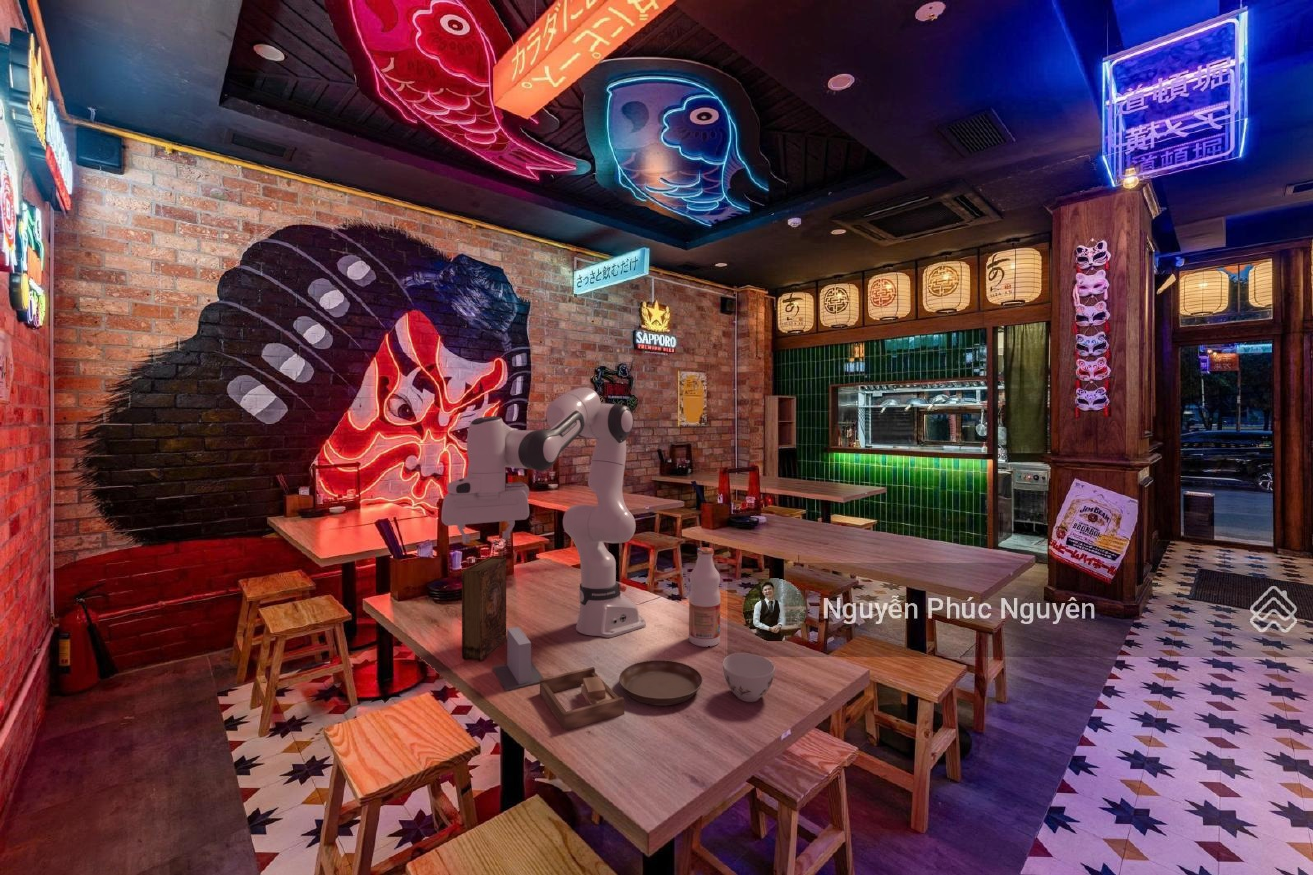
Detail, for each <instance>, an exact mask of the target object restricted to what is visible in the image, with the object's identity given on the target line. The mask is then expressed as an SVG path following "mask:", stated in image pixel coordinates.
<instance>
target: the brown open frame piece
mask: <svg viewBox="0 0 1313 875" xmlns="http://www.w3.org/2000/svg"><path fill="white" fill-rule="evenodd" d="M597 676H599V675H598V674H597V673H596V668H595V667H594V666H592V667H588V668H582V669H579V670H575V671H570V672H565V673H561V674H557V675H553V676H547V677H543V678H544V679H540V683H539V695H540V696H541V697H542V699H543V701H544V702H545V703H546V705H547V706H548V708H549V709H550V710H551V713H552V714H553V715H554V717H555V718H556V720H557V721H558V723H559V724H560V726H561V727H562V728H563V730H564V731H565V732H566V731H570V730H573V729H575V728H577V729H578V728H580V727H583V726H587V725H591V724H594V723H598V722H600V721H601V722H602V721H605V720H609V719H611V718H615V717H617V716H618V717H619V716H621V715H625V698H624V697H623V696H618V695H617V694H616V693H615V692H614V691H613V689H612V688H611V687H610V686H609V685H608V684H607V683H606V682H605V681H604V680H603V679H602V678H601V680H602V683H603V685H604V687H605V690H606V692H607V693H608V694H609V695H610V696H611V697H612V698H613V699H612V700H608V701H604V702H601V703H597V704H593V705H591V704H590V705H586V706H582V707H579V708H576V709H571V710H568V711H567V710H566V708H565V707H564V706H563V705H562V703H561V702H560V701H559V699H558V697H557V696H556V695H555V694H554V693H556V692H560V691H564V690H568V689H572V688H576V687H581V684H583V678H589V677H597Z"/></svg>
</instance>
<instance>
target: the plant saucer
mask: <svg viewBox="0 0 1313 875" xmlns="http://www.w3.org/2000/svg"><path fill="white" fill-rule="evenodd" d="M618 680H619V684H620V686H621V687H622V689H623V690H624V691H625V692H626V693H627V694H628V695H629V697H631V698H633V699H634V700H636V701H638V702H640V703H643V704H645V705H649V706H658V707H659V706H672V705H677V704H681V703H683V702H684V703H685V701H688V700H689V699H690V698H692V697H693V696H694V695H695V694H696V693H697V692H698V691H699V690H700V689H701V686H702V684H703V680H704V679H703V676H702V674H701V673H700V672H699V671H698V670H697V668H694V667H693V666H690V665H689V664H686V663H683V662H678V661H676V660H675V661H674V660H668V659H667V660H666V659H651V660H644V661H639V662H635V663H634V664H631V665H629V666H627V667H625V668H624V669H623V670H622V671H621V673H620V674H619V677H618Z"/></svg>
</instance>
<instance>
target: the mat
mask: <svg viewBox="0 0 1313 875" xmlns="http://www.w3.org/2000/svg"><path fill="white" fill-rule="evenodd" d="M492 669H493V671H494V674H495V675H496V677H497V678H498V680H499V682H500V684H501V685H502V687H503V689H504V691H505V692H508V691H509V692H510V691H514V690H518V689H522V688H526V687H530V686H535V685H540V679H544V678H545V677H543V675H542V674H541V672H540V671H539V669H538V668H537V667H536V665H535V664H534V663H533V661H532V660H531V682H528V683H524V684H520V685H519V683H518V682H517V680H516V679H515V677H514V675H513V674H512V672H511V671H510V669H509V667H508V666H507V663H506V664H500V665H496V666H492Z"/></svg>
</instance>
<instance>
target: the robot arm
mask: <svg viewBox="0 0 1313 875" xmlns="http://www.w3.org/2000/svg"><path fill="white" fill-rule="evenodd" d="M546 408H547V409H546V412H545V413H546V414H545V415H546V416H545V417H546V421H547V423H548V426H549V427H550V429H536V430H534V429H533V430H528V429H527V430H526V429H525V430H524V429H523V430H521V429H520V430H519V429H515V428H513V427H511V426H509V425H507V424H506V423H505V422H504V421H503V418H502V417H500V416H497V415H495V416H494V415H493V416H490V415H489V416H482V417H477V418H474V419H473V420H472V421H471V422H470V423H469V426H468V428H467V429H468V431H467V439H466V454H467V458H468V459H467V460H468V466H467V469H466V476H465V477H462V478H459V479H456V480H452V481H450V482H448V484H447V485H446V490H447V492H448V493H447V494H445V496H444V498H443V501H442V506H441V522H442V524H444V525H445V526H446V527H452V526H457V529H458V531H459V533H460V534H461V535H462V536H461V537H462V538H461V539H462V540H461V541H462V543H463V544H470V543H471V540H470V539H471V535H470V534H469V533H468V534H466V532H465V531H464V530H465V529H466V525H475V524H483V523H484V524H487V523H488V524H489V523H498V522H499V523H500V522H506V524H507V525H508V526H507V527H506V530H504V531H503V530H502V540H510V539H511V532H512V530H513V528H515V524H516V522H515V521H523V520H528V518H529V516H530V505H529V500H528V498H529V496H530V488H529V486H528V485H527V483H524V481H523V482H522V481H518V482H506V468H513V469H524V470H525V469H526V470H528V469H529V470H533V471H538V472H544V471H547V470H549V469H550V468H552V466H553V465H555V463H556V461H557V460H558V458H559V456H560V455H561V453H562V452H563V451H564V450H565V449H566V448H568V446H569V445H570V444H571V443H572V442H573V441H574V440H575V439H577V437H579V438H590V439H595V446H594V449H593V451H592V452H593V453H592V457H591V461H590V462H591V463H590V467H589V473H588V479H587V480H588V481H587V485H588V488H589V489H590V490H591V491H592V492H593V493H594V494H595V495H596V499H597V505H589V504H580V505H579V504H578V505H573V506H570V507H569V508H567V509H566V511H565V513H564V514H563V518H562V527H563V530H564V532H565V533H566V534H567V535H568V536H569V537H570V538H571V540H572V541H573V543H574V545H575V547H576V550H577V553H578V557H579V561H580V584H579V594H578V597H579V598H578V599H579V602H580V603H579V610H578V611H579V612H578V617H577V621H576V626H575V630H576V632H578V633H580V634H582V635H587V636H594V637H595V636H596V637H601V638H608V639H609V638H614V637H616V636H619V635H623V634H625V633H628V632H629V633H630V632H632V631H635V630H636V631H637V630H639V629H642V628H646V624H647V623H646V620H645V619H644V618H643V616H641V615H639V609H638V607H637V605H636V603H635V602H633V601H632V599H630V598H628V597H627V596H625V595H624V594H623V593H625V592H626V591H627V590H628V589H627V586H626V585H625V584H622V583H619V582H618V581H616V580H617V579H616V577H617V576H616V575H617V570H616V568H617V566H616V565H617V562H616V559H615V556H614V554H612V553H611V552H609V551H608V549H607V547H606V546H605V543H609V544H622V543H627V542H629V541H630V540H631V539H632V537H633V536H634V535H635V532H636V527H637V526H636V519H635V517H634V515H633V514H632V513H631V512H630V510H629V509H628V507H627V505H626V503H625V500H624V495H623V493H624V492H623V487H624V485H623V483H624V475H625V467H626V462H627V460H626V459H627V438H628V436H629V435H630V434H631V432H632V431H633V428H634V414H633V412H632V411H631V408H629V407H628V406H627V405H624V404H621V403H615V404H613V403H602V402H601V399H600V396H599V394H598V393H597V391H595V390H594V389H593V388H590V387H587V386H586V387H578V388H575V389H572V390H570V391H568V392H567V391H566V392H565V393H564V394H561V395H560V396H558V397H556V398H554V400H552V401H551V402H550V403H549V405H548V406H547V407H546Z"/></svg>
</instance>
